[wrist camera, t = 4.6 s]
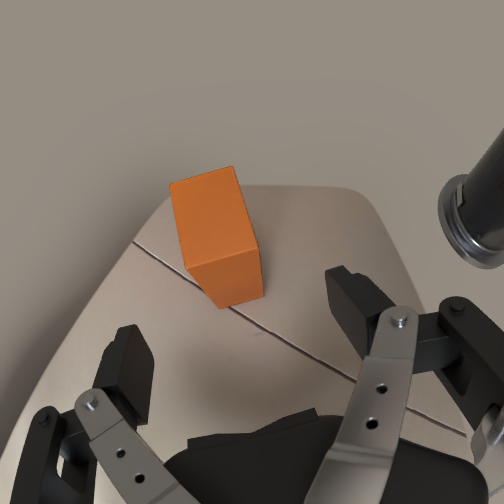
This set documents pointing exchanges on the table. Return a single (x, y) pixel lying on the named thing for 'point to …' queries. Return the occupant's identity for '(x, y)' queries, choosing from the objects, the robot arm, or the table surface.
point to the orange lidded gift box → (217, 237)
